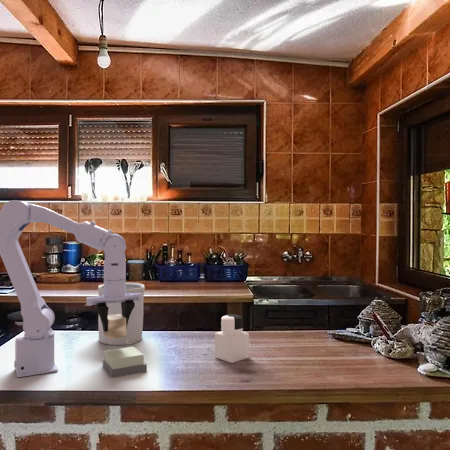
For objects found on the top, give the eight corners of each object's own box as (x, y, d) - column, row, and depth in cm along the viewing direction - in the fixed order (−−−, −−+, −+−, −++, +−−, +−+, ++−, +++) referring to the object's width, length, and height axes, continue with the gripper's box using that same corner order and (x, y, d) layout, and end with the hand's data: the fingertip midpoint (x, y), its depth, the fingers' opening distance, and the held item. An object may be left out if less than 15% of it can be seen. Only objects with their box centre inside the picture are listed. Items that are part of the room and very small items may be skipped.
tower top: (112, 369, 110) (112, 359, 110) (104, 360, 117) (104, 350, 117) (143, 364, 114) (143, 354, 114) (133, 355, 121) (133, 346, 121)
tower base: (111, 380, 110) (111, 370, 110) (102, 368, 118) (102, 359, 118) (146, 373, 114) (146, 364, 114) (135, 363, 122) (135, 354, 122)
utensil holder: (147, 333, 151) (147, 282, 151) (140, 346, 136) (140, 289, 136) (104, 333, 151) (104, 281, 150) (92, 346, 136) (92, 289, 135)
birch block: (109, 339, 116) (109, 320, 116) (103, 333, 121) (103, 315, 121) (126, 336, 118) (126, 318, 118) (119, 331, 123) (119, 313, 123)
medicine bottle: (231, 352, 131) (231, 311, 131) (249, 357, 126) (249, 315, 126) (213, 357, 126) (214, 315, 126) (231, 363, 121) (232, 319, 121)
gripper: (90, 283, 112) (91, 336, 112) (145, 279, 119) (145, 329, 119) (84, 279, 118) (84, 330, 118) (137, 275, 125) (137, 323, 125)
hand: (114, 329), depth 119 cm, fingers closed on birch block, 4 cm apart
